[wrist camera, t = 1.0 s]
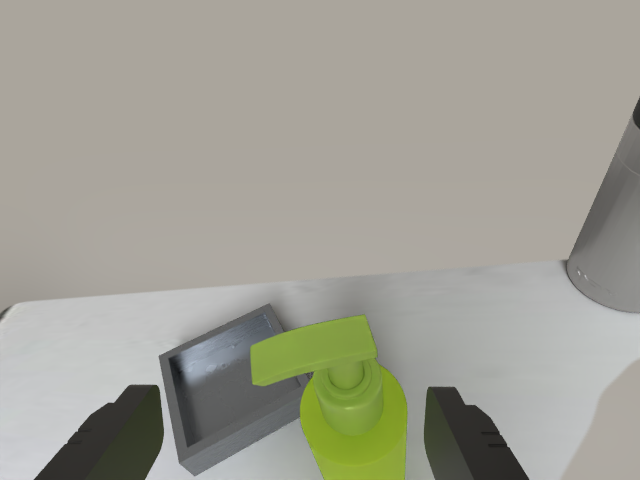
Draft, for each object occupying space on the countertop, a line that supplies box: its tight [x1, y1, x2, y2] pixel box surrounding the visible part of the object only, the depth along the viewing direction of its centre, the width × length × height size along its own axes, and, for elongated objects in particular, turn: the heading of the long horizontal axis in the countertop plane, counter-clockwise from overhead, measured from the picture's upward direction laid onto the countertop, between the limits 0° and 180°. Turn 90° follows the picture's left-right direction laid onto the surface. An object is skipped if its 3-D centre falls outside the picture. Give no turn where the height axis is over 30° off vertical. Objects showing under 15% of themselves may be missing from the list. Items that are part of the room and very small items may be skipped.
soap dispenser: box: [250, 314, 407, 480], centre depth 23 cm, size 6×7×20 cm
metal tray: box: [159, 303, 309, 476], centre depth 35 cm, size 12×11×3 cm
